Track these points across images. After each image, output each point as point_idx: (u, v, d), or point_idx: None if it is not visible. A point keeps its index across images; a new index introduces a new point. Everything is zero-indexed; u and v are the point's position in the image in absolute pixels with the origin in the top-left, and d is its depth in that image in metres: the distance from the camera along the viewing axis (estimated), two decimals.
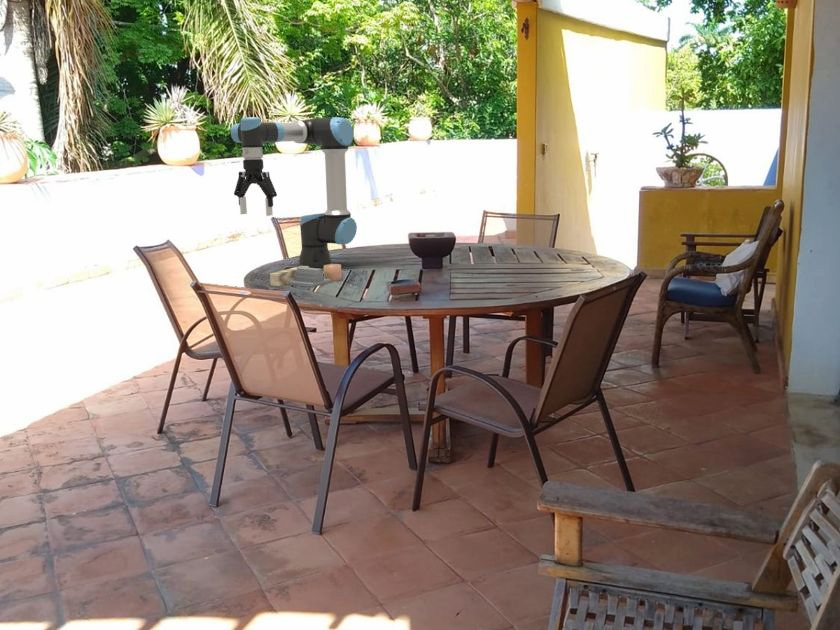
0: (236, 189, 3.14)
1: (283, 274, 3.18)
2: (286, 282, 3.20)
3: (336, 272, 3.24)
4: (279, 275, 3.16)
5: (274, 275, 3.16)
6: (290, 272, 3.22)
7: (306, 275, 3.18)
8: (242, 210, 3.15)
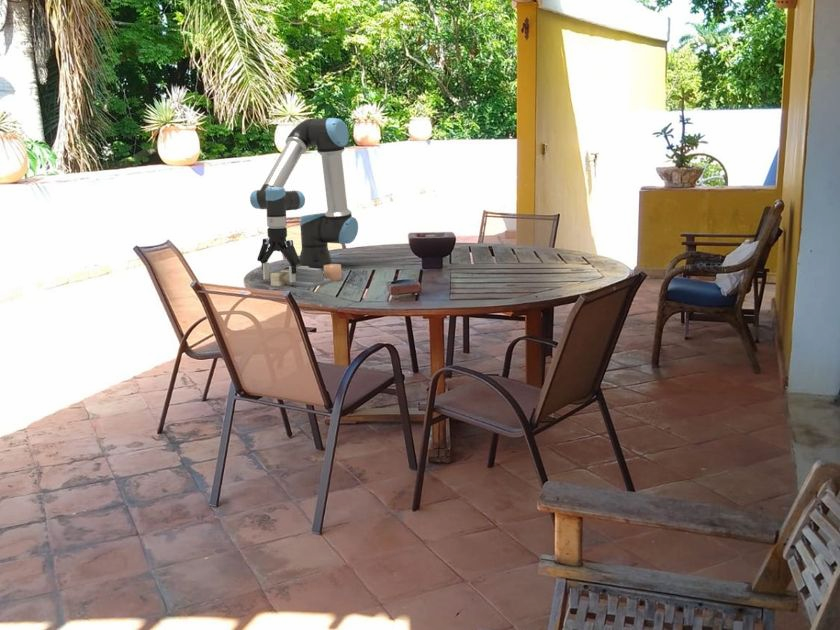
0: (259, 255, 3.22)
1: (283, 274, 3.18)
2: (286, 282, 3.20)
3: (336, 272, 3.24)
4: (279, 275, 3.16)
5: (274, 275, 3.16)
6: None
7: (306, 275, 3.18)
8: (265, 275, 3.23)
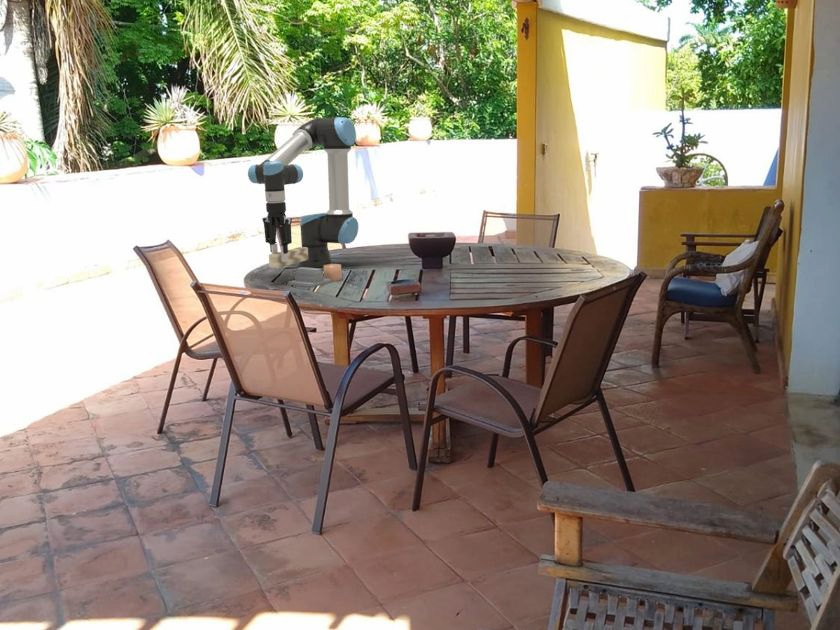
0: (266, 236, 3.19)
1: None
2: (285, 263, 3.19)
3: (336, 272, 3.24)
4: (278, 256, 3.15)
5: (273, 256, 3.15)
6: (289, 253, 3.21)
7: (306, 275, 3.18)
8: None
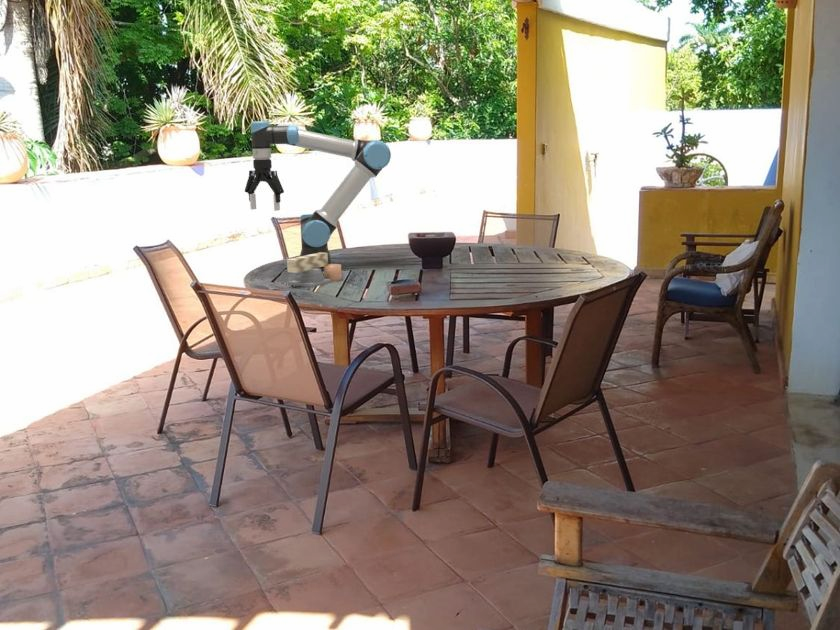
0: (246, 186, 3.45)
1: (300, 260, 3.12)
2: (303, 268, 3.14)
3: (336, 272, 3.24)
4: (296, 261, 3.10)
5: (291, 261, 3.10)
6: (308, 258, 3.15)
7: (306, 275, 3.18)
8: (252, 205, 3.46)
